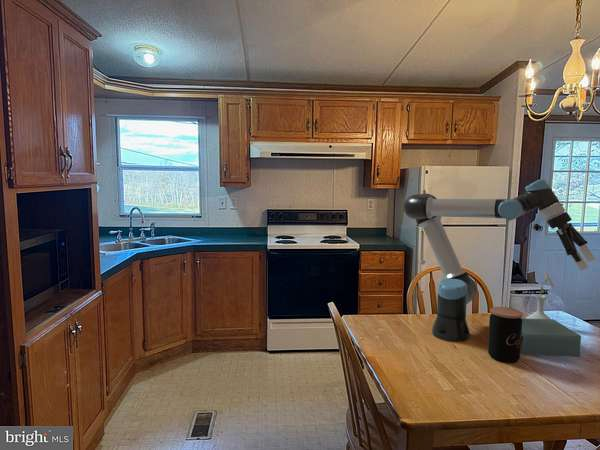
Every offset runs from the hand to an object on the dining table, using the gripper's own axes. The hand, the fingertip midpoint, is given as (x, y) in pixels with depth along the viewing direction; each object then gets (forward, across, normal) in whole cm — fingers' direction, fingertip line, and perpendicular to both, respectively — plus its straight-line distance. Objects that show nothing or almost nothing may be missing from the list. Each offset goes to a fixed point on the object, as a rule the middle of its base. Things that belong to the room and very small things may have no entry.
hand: (588, 264), depth 144 cm
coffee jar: (+17, -30, +34) cm, 48 cm away
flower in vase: (+21, +18, +36) cm, 45 cm away
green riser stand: (+22, -8, +29) cm, 37 cm away
